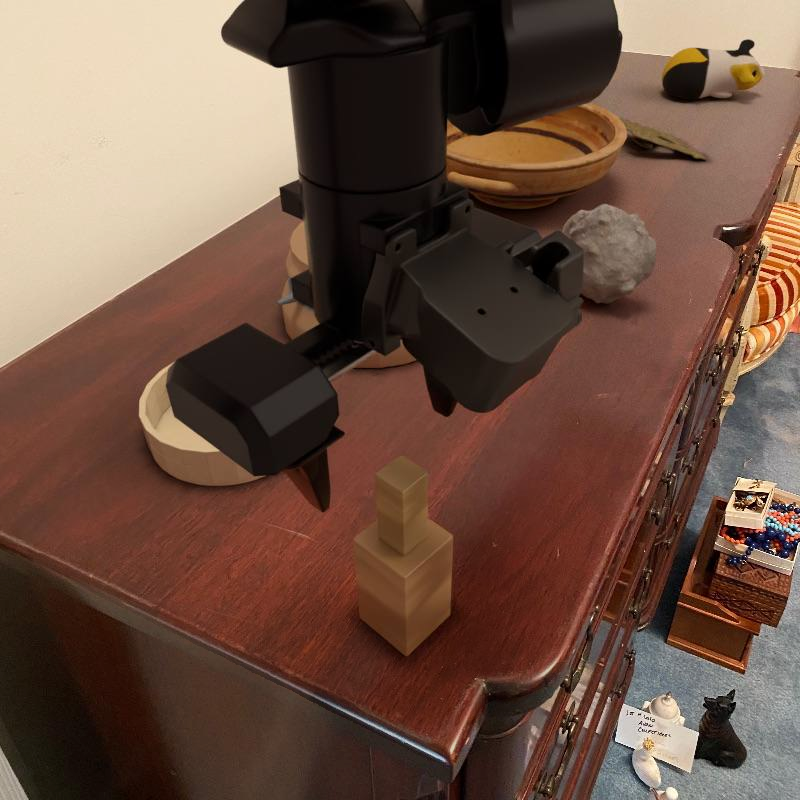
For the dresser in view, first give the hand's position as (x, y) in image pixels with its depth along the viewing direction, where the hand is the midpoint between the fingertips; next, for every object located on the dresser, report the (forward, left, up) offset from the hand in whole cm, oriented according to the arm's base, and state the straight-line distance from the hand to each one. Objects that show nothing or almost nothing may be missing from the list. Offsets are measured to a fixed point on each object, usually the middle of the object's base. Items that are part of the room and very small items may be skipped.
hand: (385, 456), depth 39 cm
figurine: (+101, +29, -13) cm, 106 cm away
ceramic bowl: (+54, +31, -13) cm, 64 cm away
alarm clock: (+25, +25, -13) cm, 38 cm away
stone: (+39, +10, -13) cm, 43 cm away
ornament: (+77, +25, -13) cm, 82 cm away
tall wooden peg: (0, -1, -6) cm, 6 cm away
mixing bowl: (+4, +21, -13) cm, 25 cm away
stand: (0, -1, -13) cm, 13 cm away
